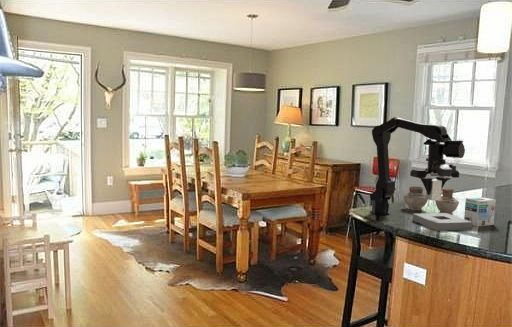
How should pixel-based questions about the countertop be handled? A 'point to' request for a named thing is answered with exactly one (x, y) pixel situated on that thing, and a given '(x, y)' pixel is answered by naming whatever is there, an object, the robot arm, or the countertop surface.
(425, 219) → the square nut plate
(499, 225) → the countertop surface
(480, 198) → the light bulb box
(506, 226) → the countertop surface
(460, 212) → the countertop surface
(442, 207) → the pottery
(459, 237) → the countertop surface
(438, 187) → the beige rectangular block
